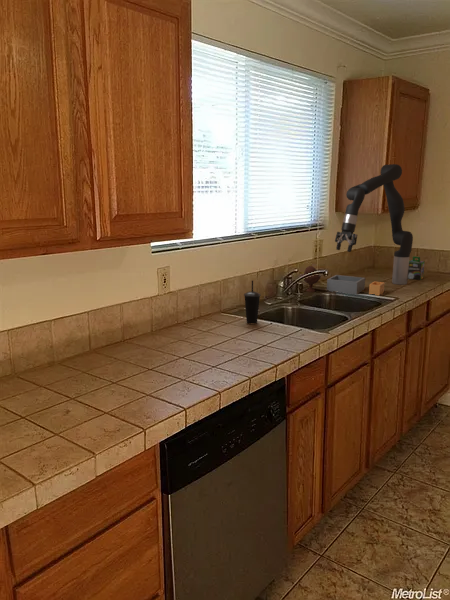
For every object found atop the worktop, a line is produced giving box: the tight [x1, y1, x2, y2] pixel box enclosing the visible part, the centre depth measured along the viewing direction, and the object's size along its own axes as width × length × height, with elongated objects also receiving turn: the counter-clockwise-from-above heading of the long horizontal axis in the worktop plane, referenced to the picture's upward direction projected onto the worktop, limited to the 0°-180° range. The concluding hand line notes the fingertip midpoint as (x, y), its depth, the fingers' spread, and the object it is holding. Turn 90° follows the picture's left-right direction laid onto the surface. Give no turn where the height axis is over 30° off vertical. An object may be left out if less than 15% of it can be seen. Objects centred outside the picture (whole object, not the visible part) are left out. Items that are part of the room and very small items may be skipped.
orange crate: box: [368, 281, 385, 296], centre depth 298 cm, size 10×6×6 cm, turn 149°
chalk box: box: [408, 256, 425, 281], centre depth 340 cm, size 9×9×15 cm
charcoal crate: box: [326, 274, 366, 295], centre depth 306 cm, size 16×18×7 cm
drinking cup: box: [243, 280, 261, 324], centre depth 236 cm, size 8×8×20 cm
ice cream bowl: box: [301, 265, 322, 293], centre depth 303 cm, size 11×11×15 cm
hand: (343, 250), depth 296 cm, fingers open, 8 cm apart
